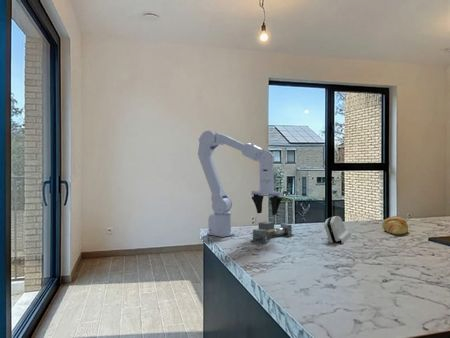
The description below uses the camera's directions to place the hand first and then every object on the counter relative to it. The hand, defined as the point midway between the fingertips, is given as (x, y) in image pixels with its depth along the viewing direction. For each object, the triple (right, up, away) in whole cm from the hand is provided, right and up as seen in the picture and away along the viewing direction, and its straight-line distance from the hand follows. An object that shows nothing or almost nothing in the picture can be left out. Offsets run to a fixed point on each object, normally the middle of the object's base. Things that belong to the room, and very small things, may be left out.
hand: (266, 213), depth 147 cm
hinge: (+27, -10, -5) cm, 29 cm away
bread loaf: (+56, -9, +9) cm, 58 cm away
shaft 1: (-3, -10, -6) cm, 12 cm away
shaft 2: (+6, -9, +3) cm, 12 cm away
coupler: (0, -10, 0) cm, 10 cm away
